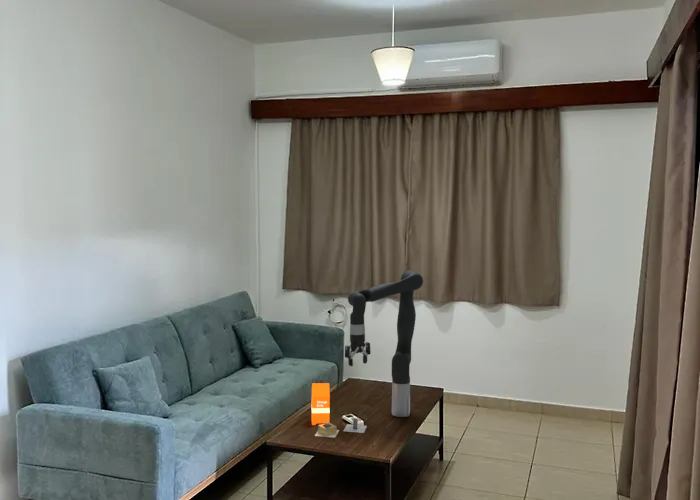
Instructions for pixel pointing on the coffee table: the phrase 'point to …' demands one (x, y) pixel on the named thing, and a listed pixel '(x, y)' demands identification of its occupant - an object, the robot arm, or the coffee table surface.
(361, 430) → the rod stand
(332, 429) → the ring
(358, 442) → the coffee table surface
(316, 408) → the orange juice
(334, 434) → the hub
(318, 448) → the coffee table surface
